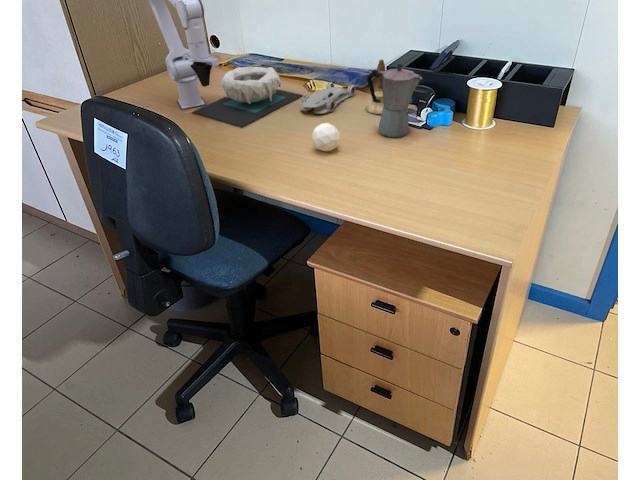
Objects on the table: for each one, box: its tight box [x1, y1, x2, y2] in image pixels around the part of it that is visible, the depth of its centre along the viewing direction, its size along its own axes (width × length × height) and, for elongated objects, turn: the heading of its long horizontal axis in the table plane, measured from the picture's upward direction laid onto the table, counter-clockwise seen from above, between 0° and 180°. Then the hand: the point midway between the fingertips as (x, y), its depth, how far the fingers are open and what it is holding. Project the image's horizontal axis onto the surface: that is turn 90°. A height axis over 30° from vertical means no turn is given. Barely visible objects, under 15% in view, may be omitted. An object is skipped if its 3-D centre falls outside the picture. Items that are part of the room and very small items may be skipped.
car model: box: [300, 81, 356, 115], centre depth 163 cm, size 11×24×5 cm, turn 148°
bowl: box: [220, 66, 282, 104], centre depth 167 cm, size 21×20×10 cm
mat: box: [191, 88, 304, 128], centre depth 168 cm, size 31×24×1 cm
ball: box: [311, 122, 341, 152], centre depth 135 cm, size 8×8×8 cm
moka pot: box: [366, 63, 423, 138], centre depth 138 cm, size 10×15×20 cm, turn 78°
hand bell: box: [366, 59, 386, 115], centre depth 153 cm, size 8×8×16 cm
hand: (205, 85), depth 155 cm, fingers closed
